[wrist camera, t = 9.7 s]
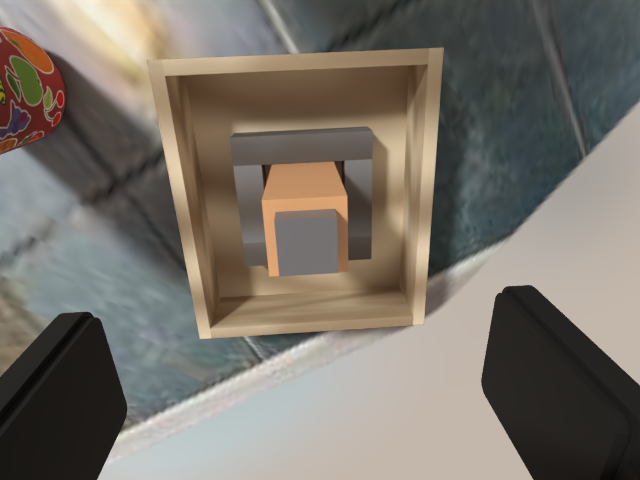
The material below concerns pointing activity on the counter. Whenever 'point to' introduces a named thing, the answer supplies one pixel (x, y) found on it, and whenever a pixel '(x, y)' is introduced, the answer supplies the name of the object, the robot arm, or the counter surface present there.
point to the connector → (305, 219)
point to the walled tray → (302, 105)
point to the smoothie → (27, 91)
